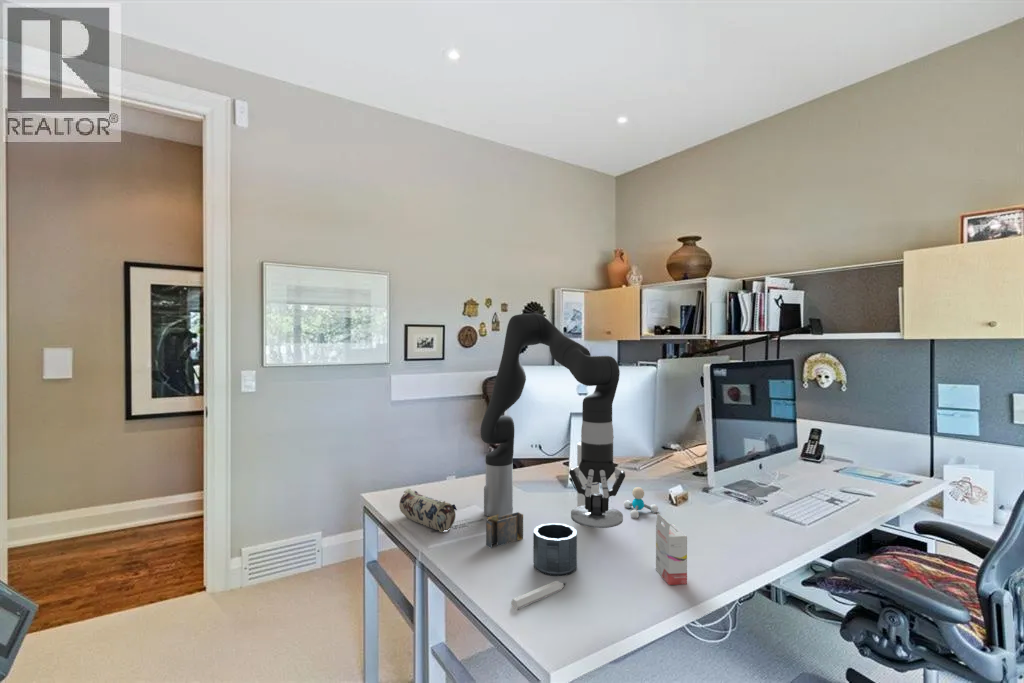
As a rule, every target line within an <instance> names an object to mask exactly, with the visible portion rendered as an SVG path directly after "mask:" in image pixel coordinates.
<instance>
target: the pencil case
mask: <svg viewBox="0 0 1024 683" xmlns="http://www.w3.org/2000/svg"><path fill="white" fill-rule="evenodd" d="M398 507H399V511H400V513H401V514H403V516H405V518H407V519H409V520H412V521H413V522H415V523H418V524H421V525H422V524H423V525H422V526H425V525H426V526H425V527H427V526H428V527H427V528H431V529H432V530H436V531H438V530H439V531H438V532H440V533H442V532H443V531H444V530H448V529H449V528H452V526H453V524H454V523H455V521H456V520H455V519H456V511H458V509H457V507H456V504H455V503H454V504H451V503H450V502H446V501H445V500H444V501H442V499H439V500H438V499H435V498H433V497H430V496H428V495H423V494H420V493H419V492H418V491H416V490H415V489H411V488H407V489H406V490H404V491H403V494H402V496H401V497H400V500H399V505H398Z"/></svg>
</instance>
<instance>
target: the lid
mask: <svg viewBox="0 0 1024 683" xmlns="http://www.w3.org/2000/svg"><path fill="white" fill-rule="evenodd" d="M602 499H603V493H600V492H599V493H592V494H591V512H588V510H586V508H585V505H583V506H579V507H577V506H576V507H573V509H572V510H570V518H571V520H572V521H573V522H574V523H576V524H577V525H580V526H584V527H587V528H593V529H594V528H595V529H608V528H615V527H618V526H620V525H621V524H623V522H624V515H623V513H622V512H621V511H620V510H618V509H617V508H614V507H611V506H608V511H605V513H602Z"/></svg>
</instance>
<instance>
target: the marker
mask: <svg viewBox="0 0 1024 683" xmlns="http://www.w3.org/2000/svg"><path fill="white" fill-rule="evenodd" d="M566 585H567V582H560V581H558V580H555V581H552V582H550V583H548V584H545V585H542V586H541V587H538V588H535V589H534V590H531V591H529V592H527V593H524V594H521V595H518V596H516V597H515V598H512V600H511V602H510V603H511V604H510V605H511V606H512V607H513V609H515V610H517V611H518V610H519V609H522V608H524V607H526V606H528V605H531V604H533V603H536V602H537V601H540V600H542V599H544V598H548V597H549V596H551V595H552V596H553V594H556V593H558V592H560V591H561V590H562V589H563V588H564V587H565V586H566Z"/></svg>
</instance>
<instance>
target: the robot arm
mask: <svg viewBox="0 0 1024 683" xmlns="http://www.w3.org/2000/svg"><path fill="white" fill-rule="evenodd" d="M504 339H505V340H504V345H503V349H502V356H501V358H500V363H499V367H498V371H497V373H496V376H495V380H494V384H493V389H492V392H491V396H490V400H489V403H488V406H487V408H486V411H485V412H484V415H483V418H482V421H481V425H480V438H481V440H482V442H484V443H485V444H487V445H489V444H491V445H492V444H493V445H495V444H499V445H498V446H497V448H495V449H493V450H491V451H490V452H488V453H487V454H486V455H485V485H484V486H483V516H488V517H491V516H496V515H498V514H499V516H498V517H500V516H504V515H508V514H512V513H514V512H513V511H514V510H513V508H514V506H513V503H514V502H513V501H514V500H513V496H514V495H513V492H514V489H513V488H514V484H513V481H514V480H513V479H514V478H513V477H514V476H513V473H514V472H513V471H514V470H513V468H514V465H513V460H514V459H513V458H514V449H515V448H514V447H515V446H514V444H515V422H514V420H513V418H512V416H511V415H506V414H505V415H504V413H505V412H506V411H508V410H509V409H510V408H511V407H512V406H514V404H516V403H517V402H518V401H519V399H520V397H521V396H522V394H523V390H524V388H525V385H526V381H527V375H526V371H525V369H524V367H523V365H522V363H521V361H520V354H521V351H522V349H523V347H529V346H534V345H539V344H540V345H546V346H548V348H549V353H550V356H552V358H553V360H555V361H556V362H557V363H558V364H560V365H561V366H563V367H564V368H565V369H568V370H569V372H570V373H571V375H572V376H573V378H574V379H575V380H576V381H577V382H578V383H579V384H581V385H583V386H588V387H595V388H594V392H593V393H592V394H590V395H589V394H588V395H587V396H585V397H584V398H582V399H583V400H582V411H581V412H582V423H581V433H580V437H581V438H580V440H581V441H580V442H581V462H580V464H579V466H578V467H577V466H576V467H570V468H569V471H568V474H569V475H570V478H571V480H572V482H573V485H574V487H575V489H576V493H577V492H578V493H579V494H583V495H584V496H585V508H586V510H588V512H591V494H590V493H591V487H592V483H595V482H598V483H599V484H601V488H602V495H603V499H602V513H605V511H608V507H609V500H610V497H615V496H616V495H617V494H618V492H619V490H620V488H621V486H622V484H623V481H624V479H625V478H626V472H625V470H620V469H618V467H617V468H616V466H615V463H614V438H615V437H614V427H613V426H614V425H613V403H614V400H615V396H616V393H617V392H616V391H617V389H618V385H619V381H620V376H621V375H620V374H621V373H620V372H621V371H620V367H619V363H618V361H617V359H615V358H614V357H613V356H611V355H591V352H590V350H589V349H588V348H587V347H586V346H584V345H583V344H581V343H580V342H577V341H575V340H574V339H572V338H570V337H568V336H567V335H566V334H564V333H563V332H562V331H561V330H560V329H559V328H557V327H556V325H554V324H553V323H552V322H551V321H550V320H549V319H548V318H547V317H545V316H544V315H542V314H541V313H534V312H533V313H532V312H531V313H519V314H514V315H513V316H511V317H510V318H509V320H508V323H507V326H506V332H505V338H504ZM579 471H581V472H582V473H583V475H584V476H585V478H586V479H587V485H586V488H584V487H583V486H582V484H581V482H580V480H579V477H578V476H579ZM613 475H614V477H615V481H614V482H613V485H612V487H611V488H610V489H609V484H608V481H609V479H610V478H611V477H612V476H613Z"/></svg>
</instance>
